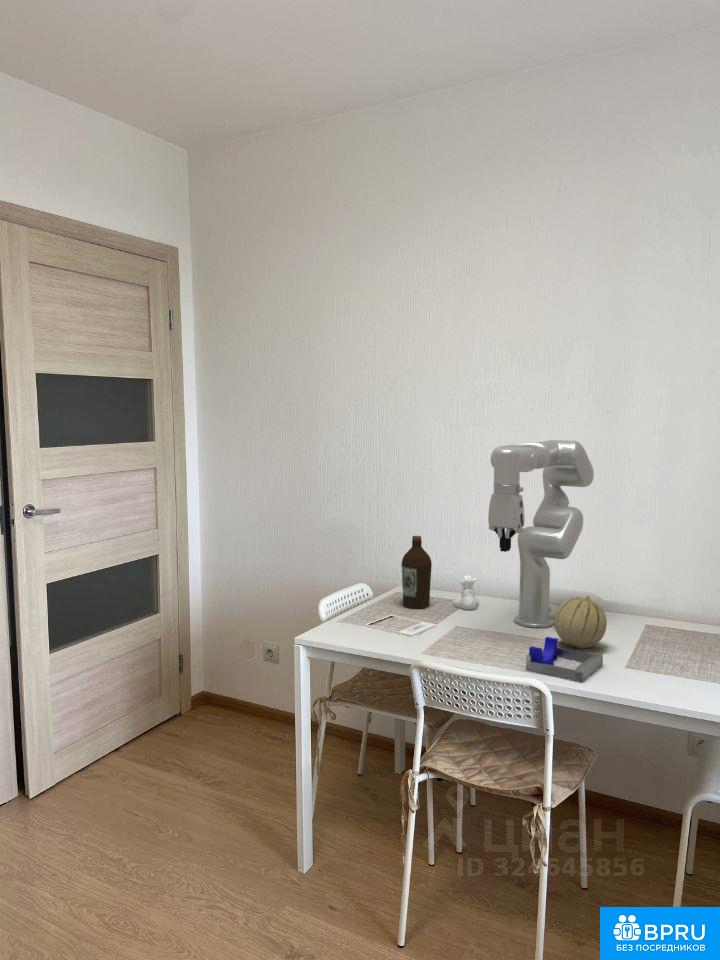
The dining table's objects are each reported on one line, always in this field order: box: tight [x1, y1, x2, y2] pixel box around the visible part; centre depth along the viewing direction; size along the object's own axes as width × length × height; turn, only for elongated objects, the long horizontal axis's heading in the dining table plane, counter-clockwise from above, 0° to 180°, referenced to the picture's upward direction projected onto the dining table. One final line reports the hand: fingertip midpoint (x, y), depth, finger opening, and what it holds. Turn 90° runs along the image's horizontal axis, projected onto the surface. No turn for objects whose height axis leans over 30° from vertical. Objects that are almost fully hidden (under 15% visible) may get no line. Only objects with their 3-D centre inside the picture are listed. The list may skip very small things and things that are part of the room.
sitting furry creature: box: [452, 574, 480, 611], centre depth 256 cm, size 10×9×12 cm
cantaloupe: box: [553, 595, 608, 649], centre depth 213 cm, size 15×15×15 cm
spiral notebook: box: [364, 614, 438, 638], centre depth 234 cm, size 15×1×18 cm
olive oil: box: [400, 535, 433, 610], centre depth 258 cm, size 11×11×25 cm
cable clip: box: [528, 636, 559, 666], centre depth 198 cm, size 12×4×6 cm, turn 143°
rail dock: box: [525, 646, 604, 683], centre depth 195 cm, size 16×15×4 cm
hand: (505, 550), depth 218 cm, fingers closed
